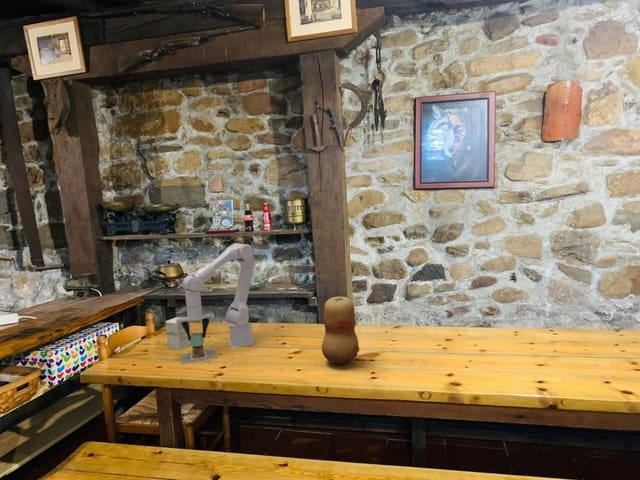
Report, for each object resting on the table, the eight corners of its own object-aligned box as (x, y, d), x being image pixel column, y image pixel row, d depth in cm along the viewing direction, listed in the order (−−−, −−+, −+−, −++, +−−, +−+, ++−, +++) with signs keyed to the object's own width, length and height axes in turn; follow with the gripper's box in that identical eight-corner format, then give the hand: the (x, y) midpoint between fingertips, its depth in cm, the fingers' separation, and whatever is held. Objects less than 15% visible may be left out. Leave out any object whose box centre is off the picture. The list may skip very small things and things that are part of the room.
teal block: (203, 342, 173) (203, 332, 172) (200, 346, 169) (199, 336, 168) (194, 342, 173) (193, 333, 173) (190, 346, 169) (189, 336, 169)
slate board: (214, 349, 179) (213, 348, 179) (218, 358, 169) (218, 357, 169) (179, 356, 174) (179, 354, 174) (181, 365, 164) (181, 364, 164)
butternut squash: (328, 372, 150) (325, 304, 148) (318, 359, 163) (315, 296, 160) (365, 366, 154) (362, 300, 151) (352, 353, 167) (349, 291, 164)
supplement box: (167, 349, 183) (164, 321, 181) (180, 343, 189) (177, 316, 188) (179, 351, 179) (176, 323, 178) (192, 345, 186) (189, 318, 184)
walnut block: (202, 353, 174) (202, 344, 174) (204, 356, 171) (203, 347, 170) (192, 355, 173) (192, 345, 172) (194, 358, 169) (193, 349, 169)
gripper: (210, 300, 176) (213, 332, 177) (174, 306, 170) (177, 338, 172) (213, 304, 169) (216, 337, 171) (175, 310, 164) (178, 344, 165)
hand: (197, 338), depth 171 cm, fingers closed on teal block, 5 cm apart
